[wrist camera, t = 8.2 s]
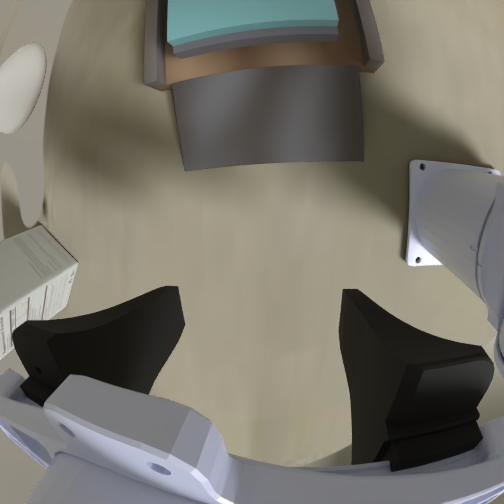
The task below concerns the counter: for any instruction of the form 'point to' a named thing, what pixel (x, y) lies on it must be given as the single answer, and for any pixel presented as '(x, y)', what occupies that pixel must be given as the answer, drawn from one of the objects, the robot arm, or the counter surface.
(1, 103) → the flower in vase
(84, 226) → the counter surface
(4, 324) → the supplement box
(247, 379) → the counter surface
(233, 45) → the teal slab
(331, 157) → the grey wooden tray
